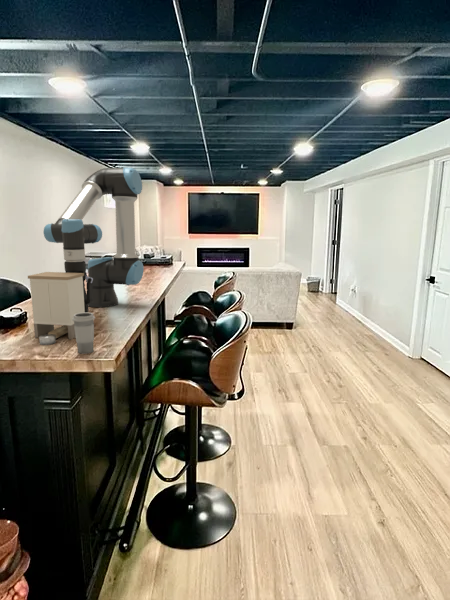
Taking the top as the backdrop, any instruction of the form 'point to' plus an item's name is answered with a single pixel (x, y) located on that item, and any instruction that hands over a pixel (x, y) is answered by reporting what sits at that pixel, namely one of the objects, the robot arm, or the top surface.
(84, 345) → the cup
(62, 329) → the teal mallet
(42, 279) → the cupboard
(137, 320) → the top surface
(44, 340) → the steel puck
